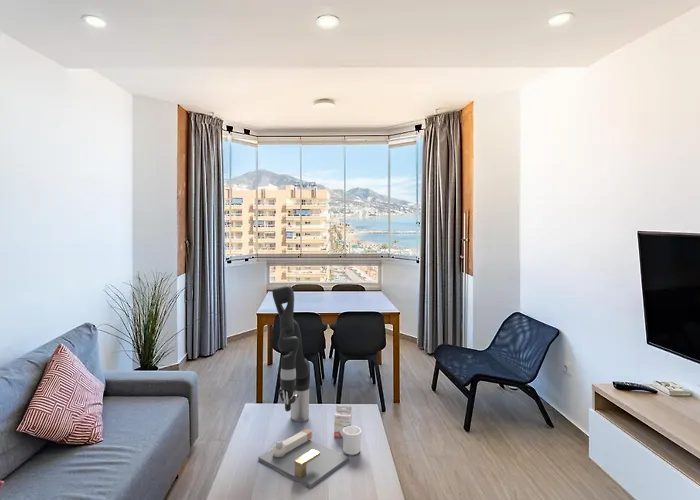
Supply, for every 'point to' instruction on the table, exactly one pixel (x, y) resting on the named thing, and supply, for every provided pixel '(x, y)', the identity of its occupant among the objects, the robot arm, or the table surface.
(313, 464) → the base plate
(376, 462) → the table surface
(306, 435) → the latch bar
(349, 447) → the mug
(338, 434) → the ink cartridge box
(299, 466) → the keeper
